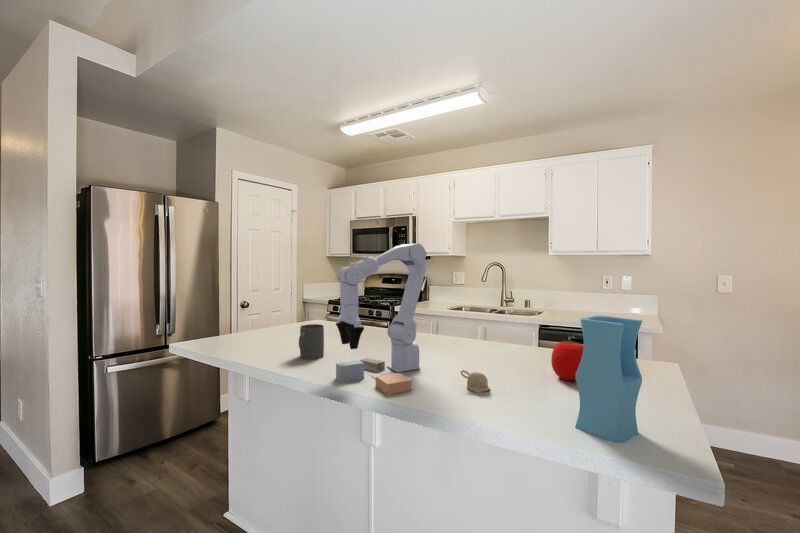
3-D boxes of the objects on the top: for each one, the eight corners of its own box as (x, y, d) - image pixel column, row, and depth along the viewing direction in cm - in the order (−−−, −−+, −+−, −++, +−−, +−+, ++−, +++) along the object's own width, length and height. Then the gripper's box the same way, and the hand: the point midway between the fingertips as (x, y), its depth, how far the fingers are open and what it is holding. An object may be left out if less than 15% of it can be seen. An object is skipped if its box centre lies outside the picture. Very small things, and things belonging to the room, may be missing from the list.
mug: (307, 353, 155) (307, 323, 154) (328, 354, 152) (328, 324, 152) (288, 361, 142) (288, 329, 141) (310, 363, 139) (310, 330, 139)
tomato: (554, 371, 130) (554, 335, 130) (592, 377, 124) (592, 339, 124) (547, 381, 119) (548, 341, 119) (588, 388, 113) (589, 346, 113)
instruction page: (392, 372, 128) (392, 371, 128) (401, 377, 123) (401, 376, 123) (371, 375, 124) (371, 374, 124) (379, 381, 119) (379, 380, 119)
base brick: (399, 382, 118) (399, 372, 118) (411, 390, 111) (412, 379, 111) (375, 386, 114) (375, 376, 114) (387, 394, 107) (387, 384, 107)
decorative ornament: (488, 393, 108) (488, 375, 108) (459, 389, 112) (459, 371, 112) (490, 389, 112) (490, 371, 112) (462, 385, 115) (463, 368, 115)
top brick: (359, 375, 126) (359, 360, 125) (363, 378, 122) (363, 363, 122) (336, 378, 122) (336, 363, 122) (340, 382, 118) (340, 366, 118)
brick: (367, 365, 137) (367, 357, 137) (384, 369, 132) (384, 361, 132) (360, 368, 134) (360, 359, 134) (377, 372, 129) (377, 363, 129)
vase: (620, 444, 79) (622, 324, 78) (574, 427, 87) (576, 318, 86) (641, 432, 84) (642, 320, 84) (596, 417, 92) (598, 314, 92)
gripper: (330, 302, 126) (330, 343, 126) (345, 307, 113) (345, 352, 113) (350, 301, 129) (350, 340, 130) (367, 305, 116) (367, 349, 117)
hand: (349, 346), depth 122 cm, fingers open, 7 cm apart
